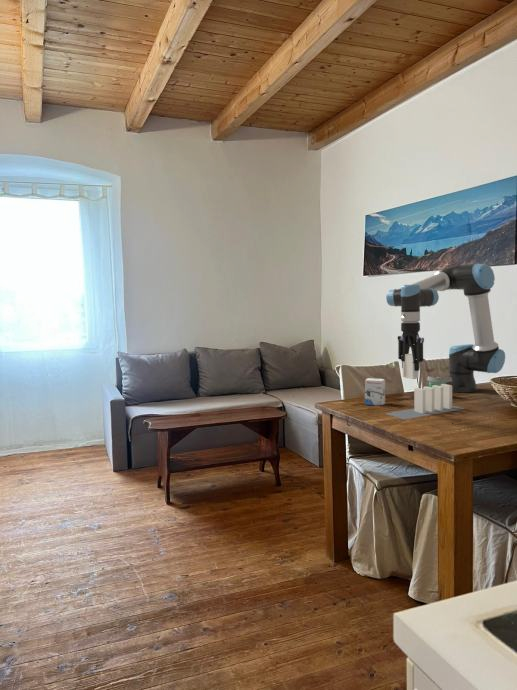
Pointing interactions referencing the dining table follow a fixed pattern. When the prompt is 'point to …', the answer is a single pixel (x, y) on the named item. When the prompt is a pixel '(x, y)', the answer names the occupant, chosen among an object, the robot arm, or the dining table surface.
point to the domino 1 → (408, 365)
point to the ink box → (374, 391)
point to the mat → (413, 414)
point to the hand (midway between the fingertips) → (410, 377)
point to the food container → (438, 381)
